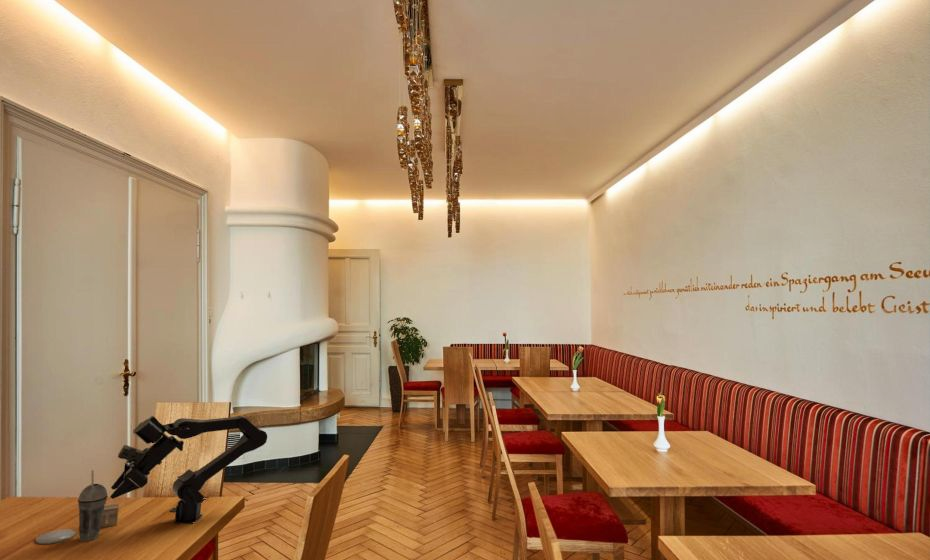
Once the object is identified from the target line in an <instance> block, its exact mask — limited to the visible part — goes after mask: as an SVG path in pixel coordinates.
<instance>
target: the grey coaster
mask: <svg viewBox="0 0 930 560" xmlns="http://www.w3.org/2000/svg"><path fill="white" fill-rule="evenodd" d="M75 535H76V531H75V530H74V529H70V528H69V529H66V528H65V529H64V528H63V529H57V530H56V529H55V530H52V531H48V532H45V533H42V534H40V535H38V536H37V537H36V538H35V543H36V544H37V545H53V544H52V543H54V544H59V543H62V542H66V541H69V540H70V539H72V538H73V537H74V536H75Z"/></svg>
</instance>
